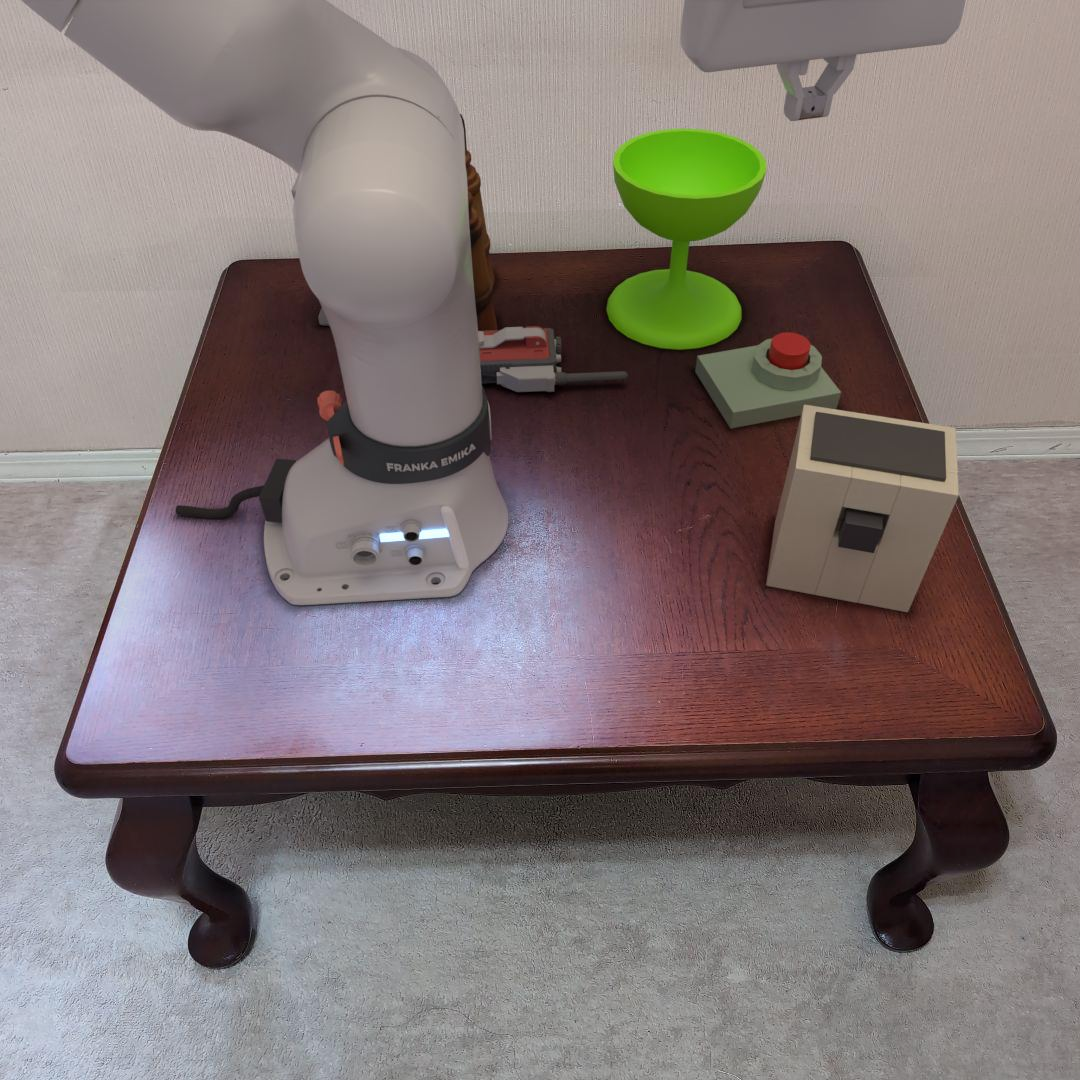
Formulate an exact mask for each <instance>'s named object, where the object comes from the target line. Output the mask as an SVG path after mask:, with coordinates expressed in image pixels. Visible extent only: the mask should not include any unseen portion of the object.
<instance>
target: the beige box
mask: <svg viewBox="0 0 1080 1080" xmlns="http://www.w3.org/2000/svg"><path fill="white" fill-rule="evenodd" d="M791 451H792V452H791V455H790V459H789V463H788V467H787V472H786V475H785V480H784V483H783V486H782V487H783V488H782V490H781V491H782V492H781V495H780V500H779V504H778V508H777V513H776V516H775V521H774V527H773V534H772V539H771V540H772V541H771V548H770V556H769V562H768V568H767V569H768V570H767V576H766V582H765V586H766V587H771V588H777V589H781V590H785V591H786V590H787V591H792V592H799V593H803V594H807V595H813V596H819V597H824V598H828V599H834V600H840V601H844V602H851V603H854V604H855V603H856V604H861V605H866V606H872V607H875V608H882V609H888V610H892V611H898V612H902V613H909V611H910V608H911V606H912V604H913V602H914V599H915V597H916V595H917V593H918V590H919V589H920V586H921V584H922V581H923V579H924V576H925V574H926V572H927V569H928V567H929V565H930V563H931V561H932V558H933V555H934V553H935V552H936V549H937V547H938V544H939V542H940V539H941V537H942V535H943V532H944V530H945V529H946V526H947V524H948V522H949V519H950V517H951V515H952V512H953V510H954V507H955V505H956V503H957V500H958V499H959V496H960V492H959V468H958V445H957V428H956V427H954V426H953V427H952V426H946V425H939V424H933V423H926V422H920V421H913V420H907V419H901V418H895V417H887V416H881V415H876V414H875V415H874V414H870V413H869V414H867V413H861V412H855V411H848V410H843V409H842V410H841V409H830V408H823V407H817V406H810V405H803V409H802V413H801V415H800V418H799V422H798V427H797V429H796V434H795V439H794V443H793V447H792V449H791ZM846 508H852V509H858V510H864V511H869V512H875V513H881V514H883V530H882V532H881V535H880V538H879V541H878V543H877V546H876V549H875V551H874V553H870V552H864V551H858V550H853V549H847V548H842V547H838V540H839V529H840V526H841V523H842V519H843V516H844V513H845V510H846Z"/></svg>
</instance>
